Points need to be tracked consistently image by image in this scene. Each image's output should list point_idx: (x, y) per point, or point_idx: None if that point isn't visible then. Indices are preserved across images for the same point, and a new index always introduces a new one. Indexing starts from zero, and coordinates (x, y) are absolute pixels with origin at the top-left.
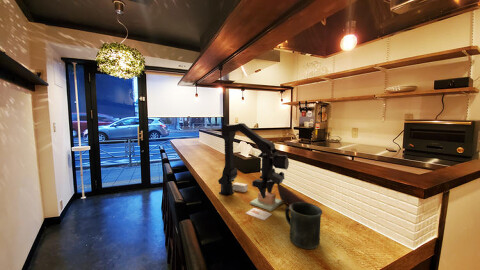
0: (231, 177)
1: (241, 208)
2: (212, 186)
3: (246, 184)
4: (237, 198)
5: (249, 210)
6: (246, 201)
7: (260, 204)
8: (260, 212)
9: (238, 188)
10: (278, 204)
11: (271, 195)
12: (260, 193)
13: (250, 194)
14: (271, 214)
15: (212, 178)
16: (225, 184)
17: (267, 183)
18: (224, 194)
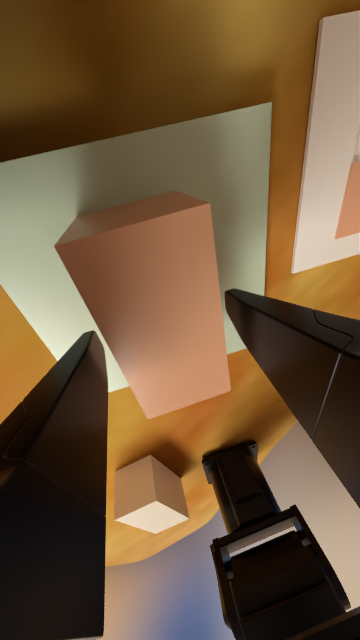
0: (329, 584)
1: (334, 311)
2: (216, 504)
3: (124, 517)
4: (238, 411)
5: (348, 256)
6: (236, 369)
7: (253, 267)
8: (346, 165)
9: (170, 486)
10: (65, 150)
11: (169, 249)
12: (226, 371)
13: (139, 431)
14: (339, 14)
15: (163, 547)
16: (298, 511)
17: (89, 542)
18: (256, 450)
